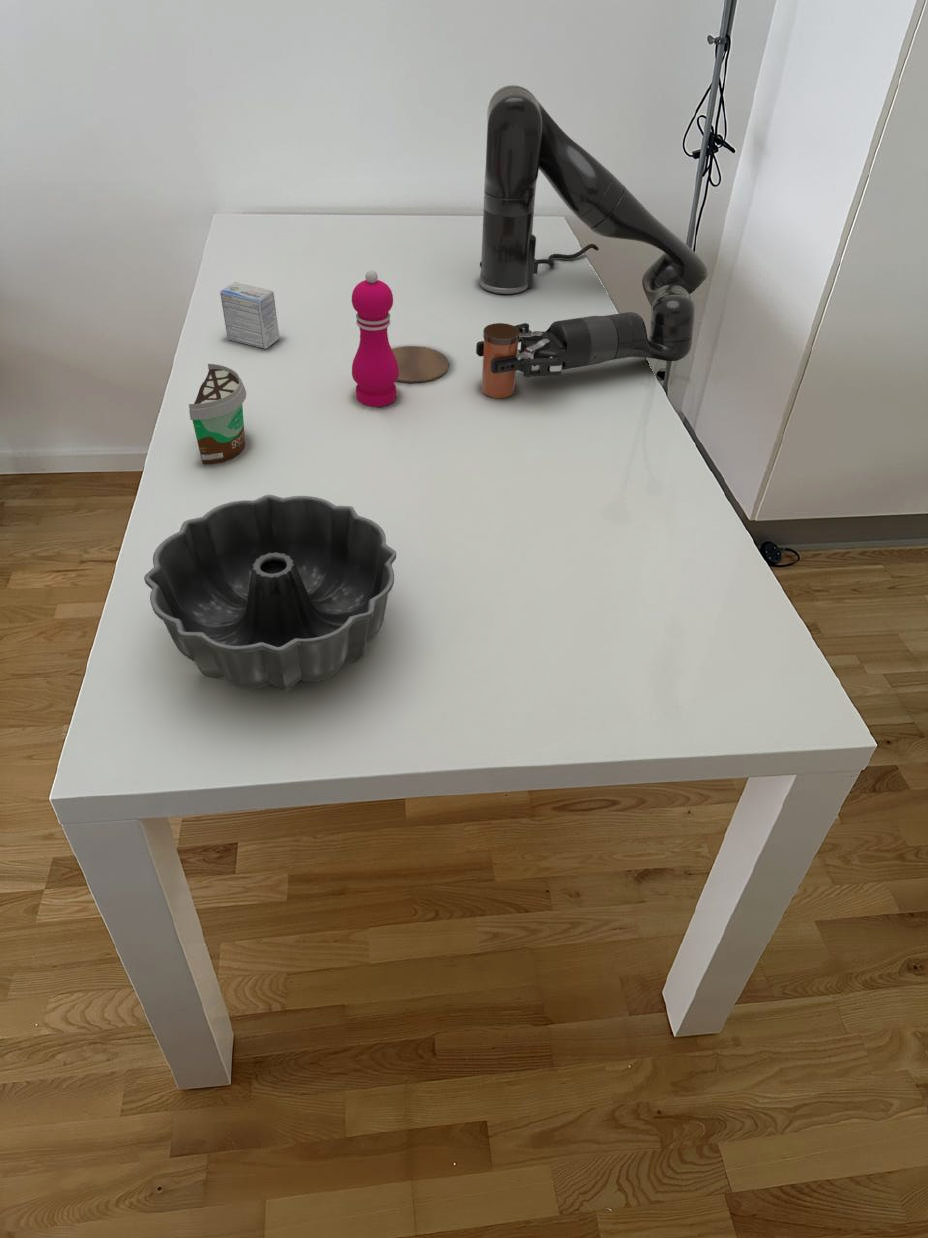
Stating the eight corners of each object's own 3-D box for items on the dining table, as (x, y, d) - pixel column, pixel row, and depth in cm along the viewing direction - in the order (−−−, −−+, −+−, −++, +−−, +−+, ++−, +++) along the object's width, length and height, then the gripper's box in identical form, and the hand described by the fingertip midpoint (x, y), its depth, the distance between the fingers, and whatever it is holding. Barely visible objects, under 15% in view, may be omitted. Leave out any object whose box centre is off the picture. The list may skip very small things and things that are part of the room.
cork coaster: (434, 343, 158) (434, 341, 158) (459, 376, 150) (459, 374, 150) (367, 354, 155) (366, 351, 154) (389, 387, 147) (389, 385, 146)
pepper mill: (406, 390, 146) (404, 265, 132) (388, 412, 141) (385, 284, 127) (364, 382, 148) (358, 257, 134) (345, 403, 143) (337, 276, 129)
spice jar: (506, 379, 150) (510, 320, 143) (520, 395, 146) (525, 336, 139) (475, 384, 148) (477, 325, 141) (488, 401, 145) (491, 341, 138)
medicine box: (280, 339, 158) (275, 290, 152) (265, 350, 155) (259, 300, 149) (241, 329, 160) (234, 280, 154) (226, 340, 157) (218, 290, 151)
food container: (244, 471, 128) (234, 407, 121) (200, 470, 128) (187, 406, 121) (260, 425, 137) (252, 363, 130) (219, 423, 137) (208, 361, 130)
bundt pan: (219, 543, 116) (206, 477, 110) (422, 575, 113) (422, 509, 106) (120, 694, 97) (97, 625, 91) (360, 738, 94) (356, 670, 87)
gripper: (600, 384, 145) (500, 401, 140) (560, 344, 155) (466, 359, 150) (606, 339, 140) (503, 356, 135) (565, 300, 149) (467, 314, 145)
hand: (484, 357), depth 142 cm, fingers closed on spice jar, 5 cm apart
